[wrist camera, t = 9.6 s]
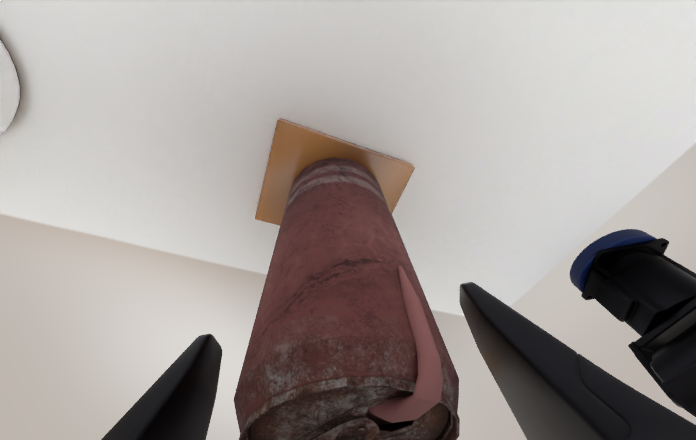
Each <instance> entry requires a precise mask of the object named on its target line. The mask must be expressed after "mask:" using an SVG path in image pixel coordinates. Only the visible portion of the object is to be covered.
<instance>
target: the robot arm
mask: <svg viewBox="0 0 696 440" xmlns="http://www.w3.org/2000/svg"><path fill="white" fill-rule="evenodd" d="M668 244H669V241H668V240H666V239H664V238H659V239H654V240H649V241H644V242H639V243H634V244H629V245H623V246H618V247H613V248H608V249H603V250H599V251H598V252H596V253H595V255H594V258H593V261H592V265H591V268H590V271H589V274H588V277H587V280H586V283H585V286H584V289H583V292H582V295H581V296H582V297H583V298H584V299H585V300H591V299H596V300H597V301H598V302H599V303H600V304H601V305H602V306H604V307H605V308H606V309H607V310H608V311H609V312H610V313H611V314H612V315H614V316H615V317H616V318H617V319H618V320H620V321H621V322H624V321H625V322H626V323H627V324H628V325H629V326H631V327H632V328H633V329H634V330H635V331H636V332H637V333H638V334H640V335H641V336H642V337H641V338H640V339H638V340H637V341H635V342H632V343H631V344H629V345H628V346H629V348H630V349H631V350H632V351H633V353H634V354H635V356H636V357H637V359H638V360H639V361H640V362H641V364H642V365H643V366H644V367H645V369H646V370H647V371H648V372H649V374H650V375H651V376H652V377H653V378H654V380H655V381H656V382H657V383H658V385H659V386H660V387H661V389H662V390H663V391H664V392H665V393H666V395H667V396H668V397H669V398H670V399H671V400H672V401H673V402H674V403H675V404H676V405H677V406H679V407H681V408H684V409H685V410H687V411H688V412H689V413H691V414H692V415H693V416H695V417H696V274H695V273H694V272H692V271H690V270H689V269H687V268H685V267H683V266H682V265H680V264H679V263H677V262H675V261H673V260H672V259H670V258H668V257H667V256H665V255H664V252H665V250H666V249H667V247H668ZM460 305H461V308H462V310H463V313H464V315H465V317H466V320H467V322H468V325H469V327H470V329H471V332H472V335H473V337H474V339H475V342H476V344H477V347H478V349H479V351H480V353H481V355H482V357H483V358H484V360H485V362H486V364H487V366H488V368H489V370H490V371H491V373H492V375H493V377H494V379H495V381H496V383H497V384H498V386H499V388H500V390H501V392H502V394H503V395H504V397H505V399H506V401H507V403H508V405H509V407H510V408H511V410H512V412H513V414H514V416H515V418H516V419H517V421H518V423H519V425H520V427H521V429H522V431H523V432H524V434H525V436H526V438H527V440H696V425H694V424H693V423H691V422H689V421H688V420H686V419H684V418H682V417H681V416H679V415H677V414H676V413H674V412H672V411H671V410H669V409H667V408H665V407H664V406H662V405H660V404H659V403H657V402H655V401H653V400H652V399H650V398H648V397H647V396H645V395H643V394H641V393H640V392H638V391H636V390H634V389H633V388H631V387H630V386H628V385H626V384H625V383H623V382H621V381H620V380H618V379H616V378H615V377H613V376H612V375H610V374H609V373H607V372H606V371H604V370H603V369H601V368H600V367H598V366H596V365H595V364H593V363H592V362H590V361H589V360H587V359H586V358H584V357H583V356H582V355H580V354H577V353H576V352H575V351H574V350H572V349H571V348H569V347H568V346H567V345H565V344H564V343H562V342H561V341H559V340H558V339H556V338H554V337H553V336H552V335H550V334H549V333H547V332H546V331H544V330H543V329H541V328H540V327H538V326H537V325H535V324H534V323H532V322H531V321H529V320H528V319H527V318H525V317H523V316H522V315H520V314H519V313H518V312H516V311H515V310H513V309H512V308H510V307H509V306H507V305H506V304H504V303H503V302H501V301H500V300H498V299H497V298H495V297H494V296H492V295H491V294H489V293H488V292H487V291H485V290H484V289H482V288H481V287H479V286H478V285H476V284H475V283H473V282H469V283H464V284H461V285H460ZM221 357H222V349H221V346H220V345H219V343H218V342H217V341H216V339H215V338H214V337H213V335H211V334H206V335H201V336H199V337H198V338H196V340H195V341H194V342H193V343H192V344H191V345H190V346H189V347H188V348H187V349H186V350H185V352H183V353H182V354H181V355H180V357H179V358H178V359H177V360H176V361H175V362H174V363H173V364H172V365H171V366H170V367H169V368H168V369H167V370H166V371H165V372H164V374H163V375H162V376H161V377H160V378H159V379H158V380H157V381H156V382H155V383H154V384H153V385H152V387H151V388H149V389H148V391H147V392H146V393H145V394H144V395H143V396H142V397H141V398H140V399H139V400H138V401H137V402H136V403H135V404H134V405H133V407H132V408H131V409H130V410H129V411H128V412H127V413H126V414H125V415H124V416H123V417H122V418H121V419H120V420H119V422H118V423H117V424H116V425H115V426H114V427H113V428H112V429H111V430H110V431H109V432H108V433H107V434H106V435H105V436H104V438H102V440H206V436H207V431H208V427H209V423H210V419H211V415H212V411H213V407H214V402H215V397H216V392H217V385H218V378H219V371H220V363H221Z"/></svg>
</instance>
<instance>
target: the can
mask: <svg viewBox="0 0 696 440" xmlns="http://www.w3.org/2000/svg"><path fill="white" fill-rule="evenodd" d="M458 387H459V378H458V375H457V373H456V371H455V368H454V366H453V363H452V361H451V358H450V356H449V354H448V351H447V349H446V346H445V344H444V341H443V339H442V336H441V334H440V332H439V329H438V327H437V324H436V322H435V319H434V317H433V314H432V312H431V310H430V307H429V305H428V302H427V300H426V297H425V295H424V292H423V290H422V288H421V285H420V283H419V280H418V278H417V275H416V273H415V271H414V268H413V266H412V263H411V261H410V258H409V256H408V253H407V251H406V249H405V246H404V244H403V241H402V239H401V236H400V234H399V231H398V229H397V227H396V224H395V222H394V219H393V217H392V214H391V212H390V210H389V207H388V205H387V202H386V200H385V197H384V195H383V192H382V190H381V188H380V185H379V184H378V182H377V180H376V178H375V176H374V175H373V174H372V173H371V172H370V171H369V170H368V169H367V168H366V167H364V166H363V165H362V164H359V163H357V162H355V161H352V160H350V159H345V158H334V157H332V158H328V159H323V160H319V161H316V162H314V163H313V164H311V165H309V166H307V167H306V168H304V169H303V170H302V171H301V173H300V174H299V175H298V176H297V177H296V178H295V179H294V182H293V184H292V187H291V190H290V192H289V196H288V200H287V203H286V207H285V211H284V214H283V218H282V222H281V226H280V229H279V233H278V237H277V240H276V244H275V248H274V252H273V255H272V259H271V263H270V267H269V270H268V274H267V278H266V282H265V286H264V289H263V293H262V296H261V300H260V304H259V307H258V311H257V315H256V319H255V323H254V326H253V330H252V334H251V338H250V341H249V345H248V349H247V352H246V356H245V360H244V363H243V367H242V371H241V374H240V378H239V382H238V386H237V389H236V393H235V397H234V403H235V409H236V415H237V420H238V424H239V429H240V433H241V434H240V438H239V440H456V439H457V438H458V436H459V417H458V415H457V408H458V395H459V388H458Z"/></svg>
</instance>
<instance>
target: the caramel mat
mask: <svg viewBox="0 0 696 440" xmlns="http://www.w3.org/2000/svg"><path fill="white" fill-rule="evenodd" d="M332 157H334V158H345V159H350V160H352V161H355V162H357V163H359V164H362V165H363V166H364V167H366V168H367V169H368V170H369V171H370V172H371V173H372V174H373V175H374V176H375V178H376V180H377V182H378V184H379V185H380V188H381V190H382V192H383V195H384V197H385V200H386V202H387V205H388V207H389V210H390V212H391V214H392V212H393V210H394V208H395V206H396V204H397V202H398V200H399V198H400V196H401V194H402V192H403V190H404V188H405V186H406V184H407V182H408V180H409V178H410V176H411V174H412V172H413V170H414V168H415V167H414V166H413V165H412V164H409V163H406V162H404V161H401V160H398V159H395V158H392V157H389V156H386V155H384V154H381V153H378V152H375V151H372V150H369V149H367V148H364V147H361V146H358V145H355V144H352V143H349V142H347V141H344V140H341V139H338V138H335V137H332V136H329V135H327V134H324V133H321V132H318V131H315V130H312V129H309V128H307V127H304V126H301V125H298V124H295V123H292V122H289V121H287V120H284V119H281V118H279V120H278V121H277V126H276V130H275V134H274V139H273V143H272V147H271V152H270V156H269V160H268V165H267V169H266V173H265V178H264V182H263V186H262V191H261V195H260V200H259V204H258V208H257V213H256V217H255V219H257V220H261V221H265V222H269V223H273V224H276V225H280V226H281V222H282V218H283V214H284V211H285V207H286V203H287V200H288V196H289V192H290V190H291V187H292V184H293V182H294V179H295V178H296V177H297V176H298V175H299V174H300V173H301V171H302V170H303V169H304V168H306V167H307V166H309V165H311V164H313V163H314V162H316V161H319V160H323V159H328V158H332Z"/></svg>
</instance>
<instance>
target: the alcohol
mask: <svg viewBox="0 0 696 440" xmlns="http://www.w3.org/2000/svg"><path fill="white" fill-rule="evenodd" d="M19 100H20V85H19V81H18V76H17V72H16V69H15V67H14V64H13V62H12V60H11V57H10V55H9V53H8V51H7V50H6V48H5V46H4V45H3V43H2V41H1V40H0V135H1V134H2V133H3V132H5V130H6V129H7V127H8V126H9V125H10V123H11V122H12V120H13V118H14V115H15V113H16V111H17V107H18V104H19Z"/></svg>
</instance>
